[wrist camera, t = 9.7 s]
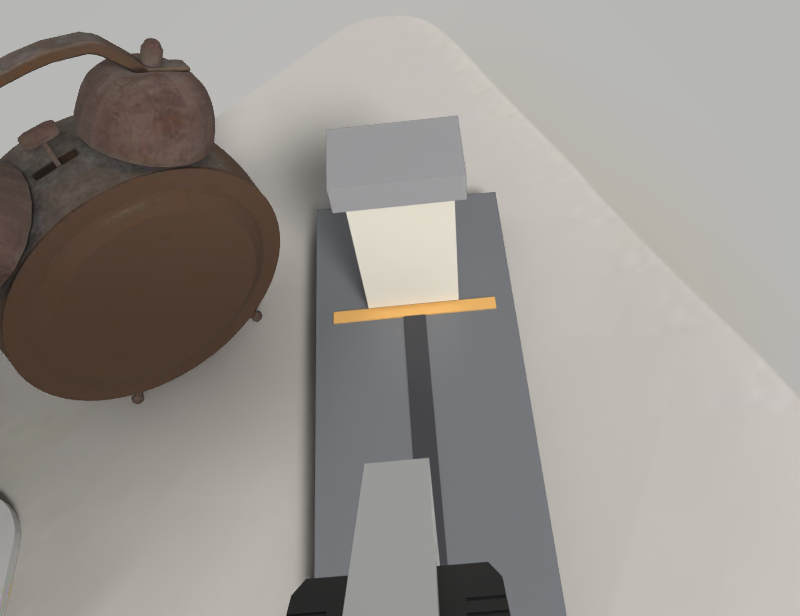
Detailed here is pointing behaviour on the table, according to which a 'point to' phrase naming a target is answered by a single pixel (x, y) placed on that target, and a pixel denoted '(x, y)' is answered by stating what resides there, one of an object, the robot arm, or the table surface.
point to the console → (433, 410)
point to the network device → (8, 551)
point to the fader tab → (400, 205)
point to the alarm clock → (125, 229)
